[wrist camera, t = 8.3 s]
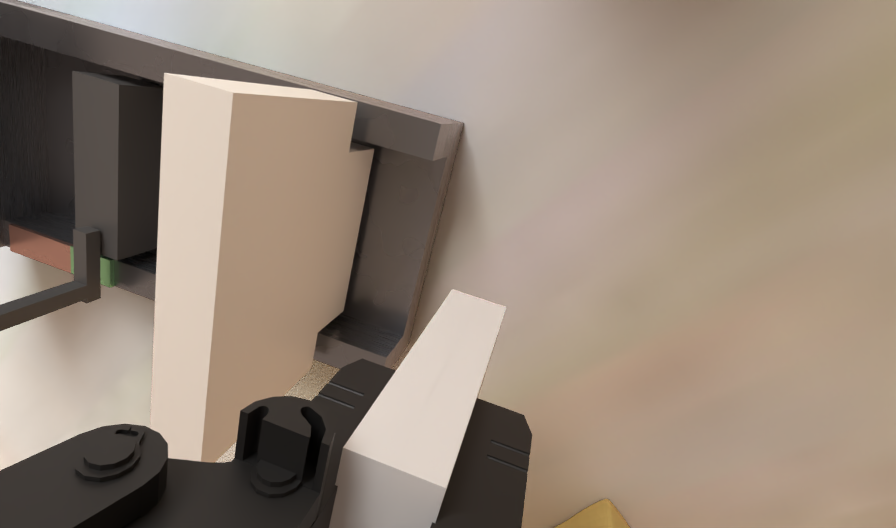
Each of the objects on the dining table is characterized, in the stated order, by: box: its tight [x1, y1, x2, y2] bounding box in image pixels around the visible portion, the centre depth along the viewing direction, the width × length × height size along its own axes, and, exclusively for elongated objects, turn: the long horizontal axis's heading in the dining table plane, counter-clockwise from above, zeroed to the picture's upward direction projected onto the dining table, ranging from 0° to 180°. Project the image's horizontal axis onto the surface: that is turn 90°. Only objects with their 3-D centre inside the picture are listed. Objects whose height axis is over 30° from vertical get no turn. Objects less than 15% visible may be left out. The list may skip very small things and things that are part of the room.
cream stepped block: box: [150, 73, 374, 463], centre depth 15 cm, size 5×10×8 cm, turn 165°
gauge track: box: [0, 0, 464, 369], centre depth 18 cm, size 22×10×8 cm, turn 75°
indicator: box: [0, 71, 164, 331], centre depth 17 cm, size 2×9×7 cm, turn 165°
